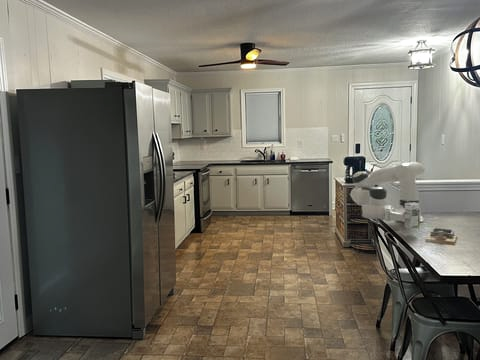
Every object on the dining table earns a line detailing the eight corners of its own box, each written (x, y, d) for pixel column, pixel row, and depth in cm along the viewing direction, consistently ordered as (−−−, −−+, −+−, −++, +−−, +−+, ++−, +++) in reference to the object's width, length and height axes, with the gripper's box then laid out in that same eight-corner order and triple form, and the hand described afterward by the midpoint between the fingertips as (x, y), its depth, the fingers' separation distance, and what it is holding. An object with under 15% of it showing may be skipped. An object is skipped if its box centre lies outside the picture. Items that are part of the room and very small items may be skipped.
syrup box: (410, 229, 239) (411, 204, 237) (404, 227, 244) (404, 202, 242) (419, 228, 240) (420, 203, 238) (412, 226, 246) (413, 202, 244)
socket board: (429, 234, 244) (430, 224, 243) (456, 237, 237) (457, 227, 236) (425, 241, 229) (425, 231, 228) (454, 244, 222) (454, 234, 221)
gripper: (392, 215, 257) (416, 217, 250) (384, 221, 240) (410, 223, 233) (392, 204, 256) (416, 206, 249) (385, 210, 239) (410, 212, 232)
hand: (413, 215), depth 241 cm, fingers closed on syrup box, 8 cm apart
